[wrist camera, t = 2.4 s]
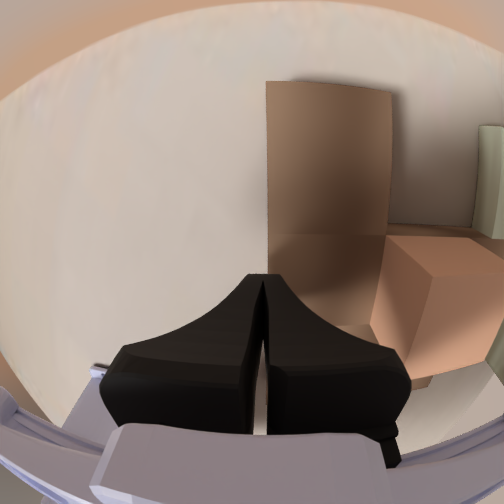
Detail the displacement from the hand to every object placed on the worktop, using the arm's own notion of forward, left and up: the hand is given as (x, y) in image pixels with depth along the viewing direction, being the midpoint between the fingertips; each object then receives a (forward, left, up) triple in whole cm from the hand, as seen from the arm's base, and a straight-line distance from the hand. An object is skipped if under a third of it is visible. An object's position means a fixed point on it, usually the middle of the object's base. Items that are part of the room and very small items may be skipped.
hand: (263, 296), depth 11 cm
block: (+8, 0, -1) cm, 8 cm away
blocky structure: (+10, 0, -3) cm, 10 cm away
